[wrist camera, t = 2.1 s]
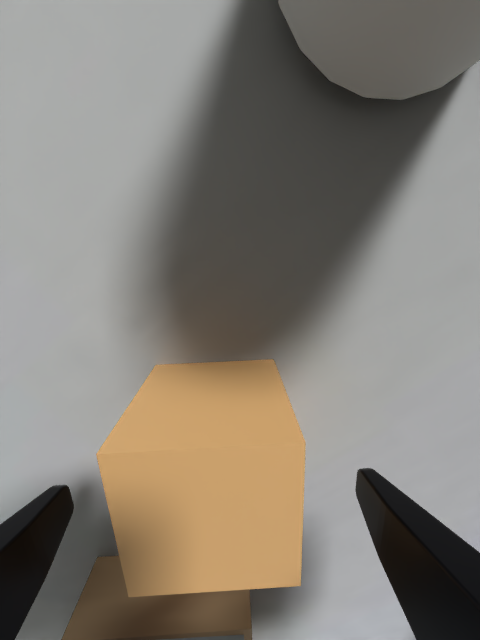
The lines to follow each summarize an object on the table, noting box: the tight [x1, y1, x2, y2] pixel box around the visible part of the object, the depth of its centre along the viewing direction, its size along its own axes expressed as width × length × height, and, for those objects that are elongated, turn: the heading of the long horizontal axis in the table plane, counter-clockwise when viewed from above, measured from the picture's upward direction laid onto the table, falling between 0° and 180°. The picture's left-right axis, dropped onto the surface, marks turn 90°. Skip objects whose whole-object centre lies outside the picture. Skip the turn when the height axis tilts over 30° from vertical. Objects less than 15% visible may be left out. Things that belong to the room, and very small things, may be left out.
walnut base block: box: [61, 556, 252, 640], centre depth 13 cm, size 8×8×4 cm
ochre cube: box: [96, 359, 305, 597], centre depth 9 cm, size 5×5×5 cm
